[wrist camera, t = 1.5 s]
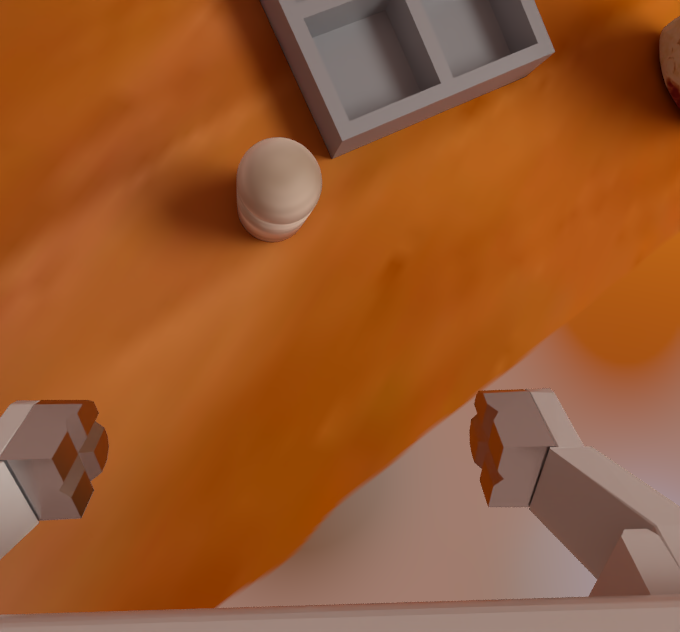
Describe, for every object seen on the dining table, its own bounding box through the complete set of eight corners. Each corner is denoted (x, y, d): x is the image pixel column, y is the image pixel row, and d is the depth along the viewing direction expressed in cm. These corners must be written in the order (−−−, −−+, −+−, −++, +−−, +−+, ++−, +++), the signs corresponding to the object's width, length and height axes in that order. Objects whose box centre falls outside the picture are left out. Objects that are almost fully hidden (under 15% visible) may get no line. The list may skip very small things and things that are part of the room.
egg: (225, 190, 35) (219, 144, 26) (287, 163, 36) (304, 110, 26) (255, 253, 35) (261, 231, 26) (316, 225, 36) (343, 195, 27)
